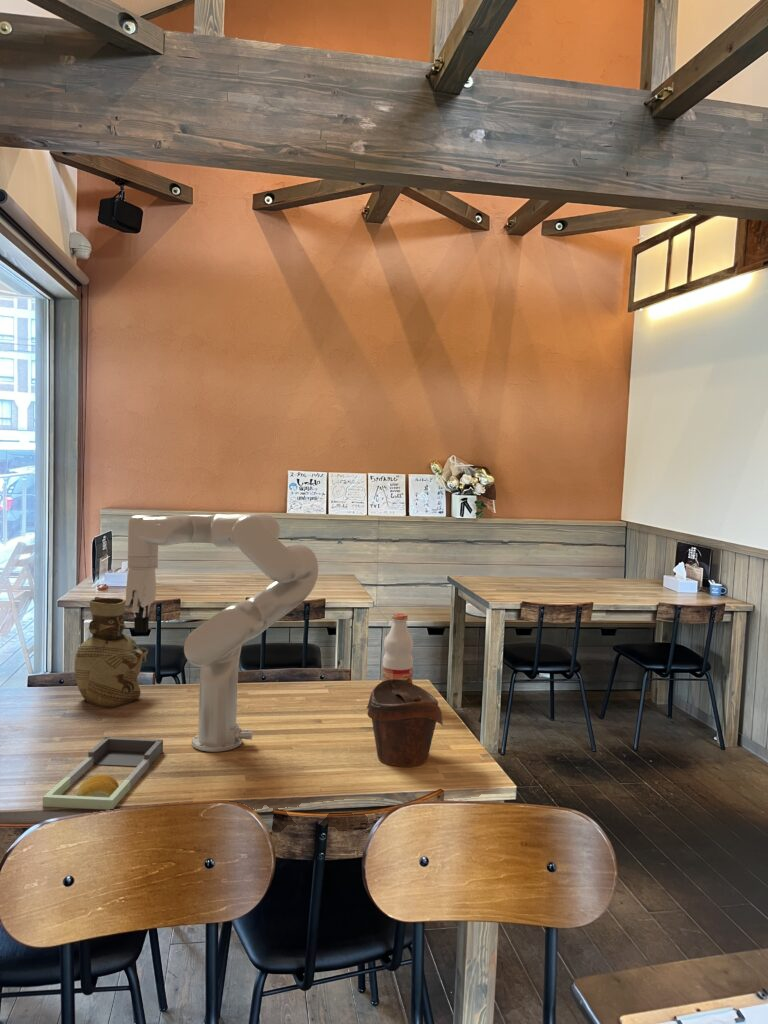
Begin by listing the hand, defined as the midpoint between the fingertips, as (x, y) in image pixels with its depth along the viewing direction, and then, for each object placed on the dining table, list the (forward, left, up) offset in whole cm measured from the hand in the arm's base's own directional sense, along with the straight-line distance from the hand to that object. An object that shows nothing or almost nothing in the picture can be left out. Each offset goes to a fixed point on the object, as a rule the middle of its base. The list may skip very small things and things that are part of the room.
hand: (141, 631), depth 193 cm
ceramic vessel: (+19, -27, -27) cm, 43 cm away
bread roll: (-5, +38, -28) cm, 47 cm away
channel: (-3, +28, -27) cm, 39 cm away
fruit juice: (-68, -34, -27) cm, 81 cm away
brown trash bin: (-70, +9, -27) cm, 76 cm away
